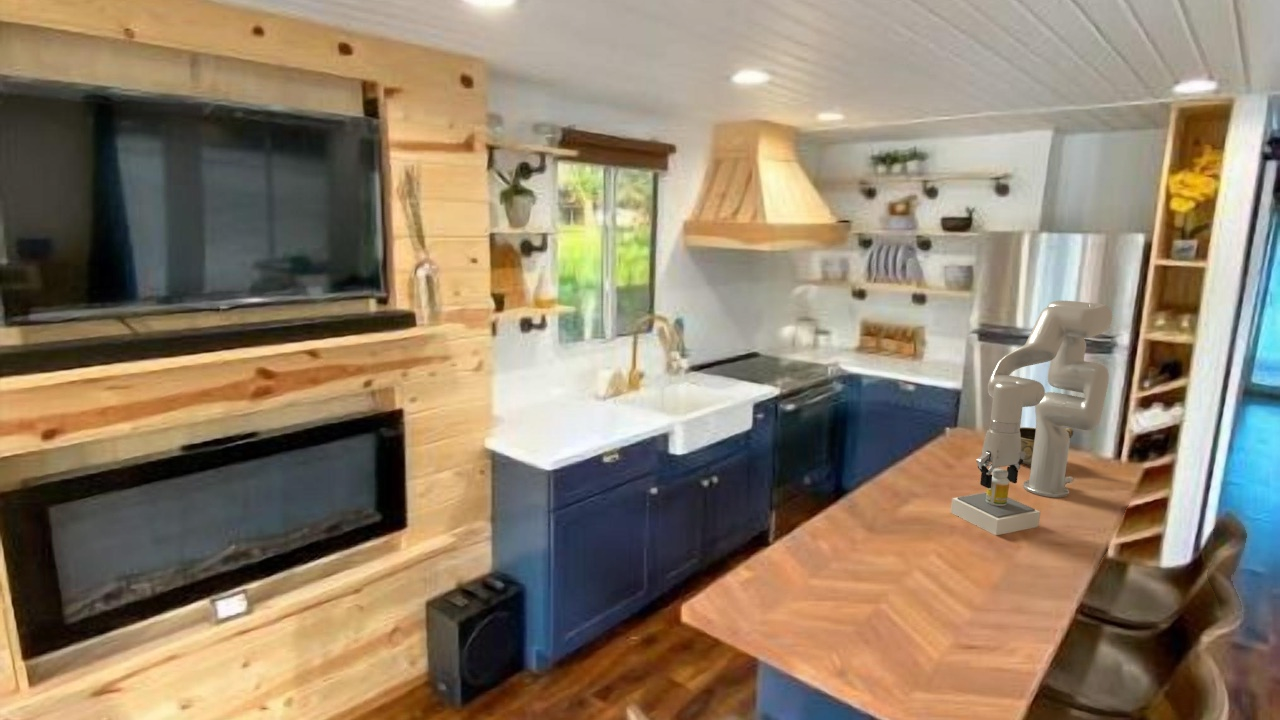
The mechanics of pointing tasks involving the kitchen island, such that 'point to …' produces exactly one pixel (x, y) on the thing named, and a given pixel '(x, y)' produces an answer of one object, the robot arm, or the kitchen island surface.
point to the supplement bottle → (998, 488)
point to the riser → (995, 514)
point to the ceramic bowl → (1031, 442)
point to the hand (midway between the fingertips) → (998, 484)
